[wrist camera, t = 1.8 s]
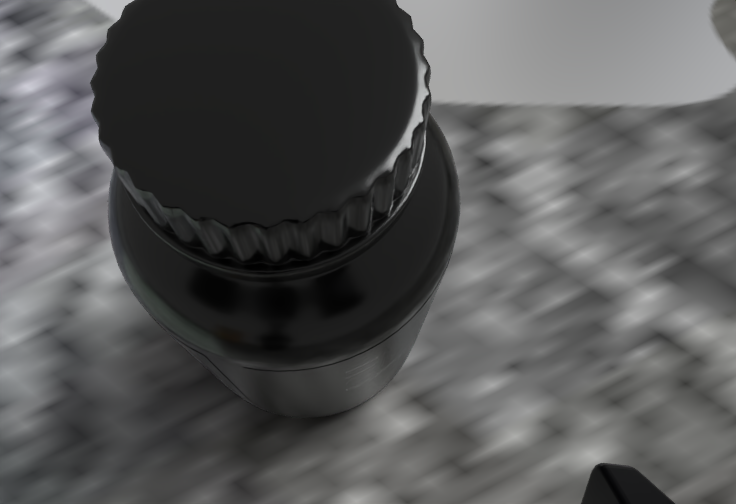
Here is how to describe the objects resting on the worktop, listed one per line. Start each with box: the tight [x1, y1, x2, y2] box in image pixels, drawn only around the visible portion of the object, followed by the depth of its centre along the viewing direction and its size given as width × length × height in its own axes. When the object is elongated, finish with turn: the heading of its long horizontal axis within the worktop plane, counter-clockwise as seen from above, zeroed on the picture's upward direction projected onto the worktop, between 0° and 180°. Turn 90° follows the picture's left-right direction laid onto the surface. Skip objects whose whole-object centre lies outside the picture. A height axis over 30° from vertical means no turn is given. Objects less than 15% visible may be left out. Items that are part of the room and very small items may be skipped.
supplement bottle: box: [90, 0, 460, 418], centre depth 14 cm, size 7×7×12 cm
